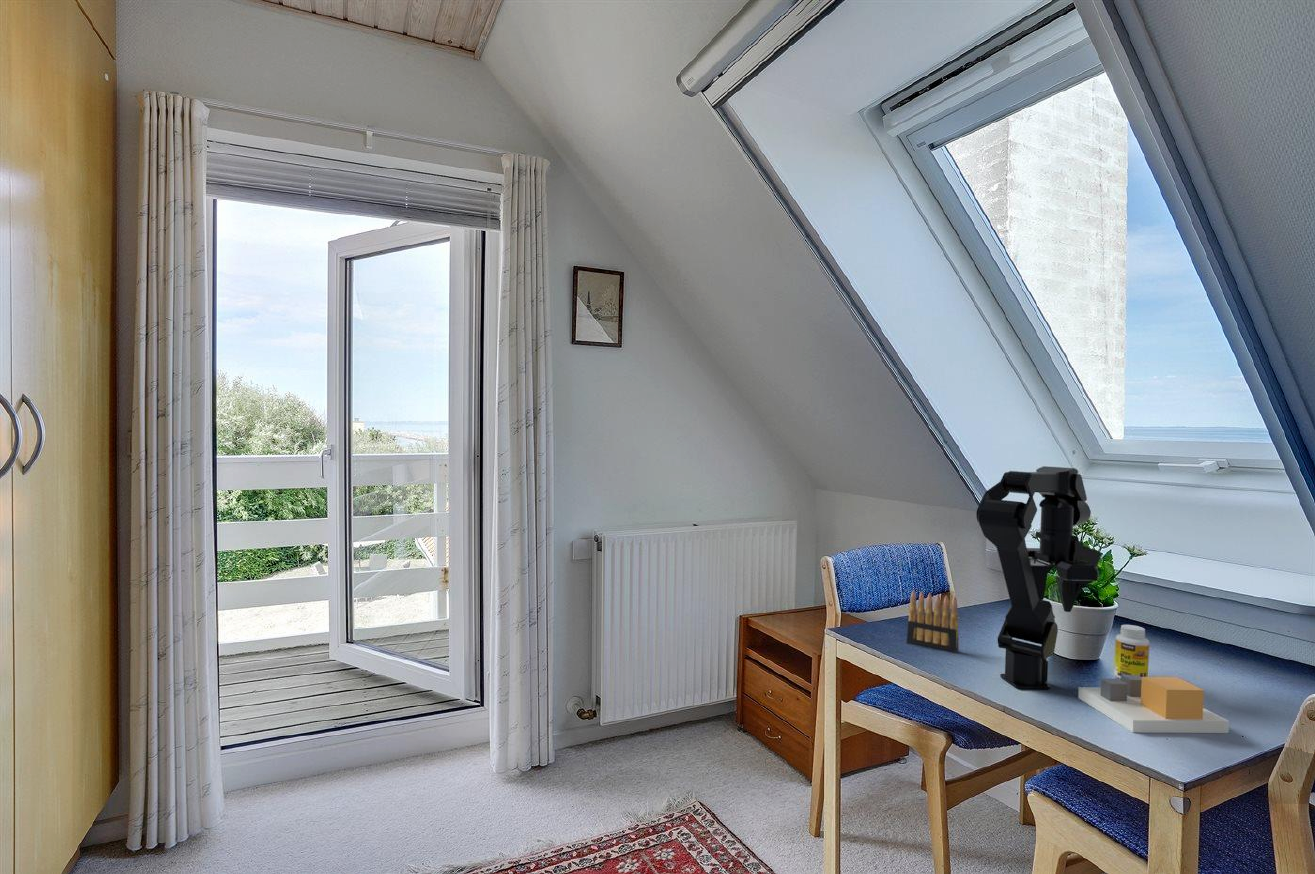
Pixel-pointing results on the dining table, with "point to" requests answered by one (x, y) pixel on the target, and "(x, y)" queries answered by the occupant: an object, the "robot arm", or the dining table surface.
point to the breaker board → (1143, 709)
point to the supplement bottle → (1131, 652)
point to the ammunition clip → (933, 624)
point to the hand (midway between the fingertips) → (1053, 605)
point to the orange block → (1172, 698)
